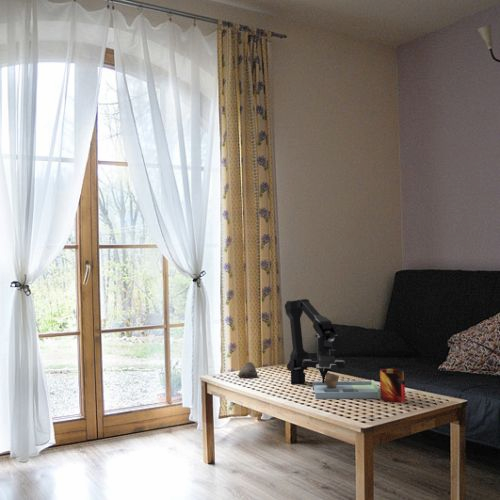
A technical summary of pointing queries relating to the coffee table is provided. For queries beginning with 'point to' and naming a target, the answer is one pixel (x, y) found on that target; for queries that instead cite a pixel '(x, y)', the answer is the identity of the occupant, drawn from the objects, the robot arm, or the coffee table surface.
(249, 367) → the stone
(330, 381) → the block
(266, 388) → the coffee table surface
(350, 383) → the trap box
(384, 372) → the mug
